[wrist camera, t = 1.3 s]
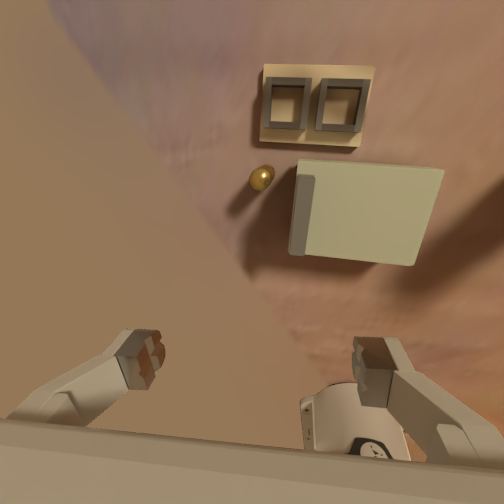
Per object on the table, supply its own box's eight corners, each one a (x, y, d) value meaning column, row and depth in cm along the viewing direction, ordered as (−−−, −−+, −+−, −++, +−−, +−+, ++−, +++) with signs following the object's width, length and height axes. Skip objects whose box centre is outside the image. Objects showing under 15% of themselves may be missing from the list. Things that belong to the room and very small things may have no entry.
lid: (399, 250, 34) (430, 282, 26) (288, 238, 36) (286, 265, 28) (425, 166, 30) (469, 174, 22) (298, 158, 32) (298, 163, 24)
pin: (274, 184, 35) (269, 191, 30) (256, 182, 35) (248, 189, 30) (275, 165, 34) (271, 169, 29) (257, 164, 34) (249, 167, 29)
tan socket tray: (357, 146, 32) (362, 146, 29) (260, 141, 33) (257, 141, 31) (373, 68, 29) (379, 61, 26) (265, 66, 30) (262, 60, 28)
